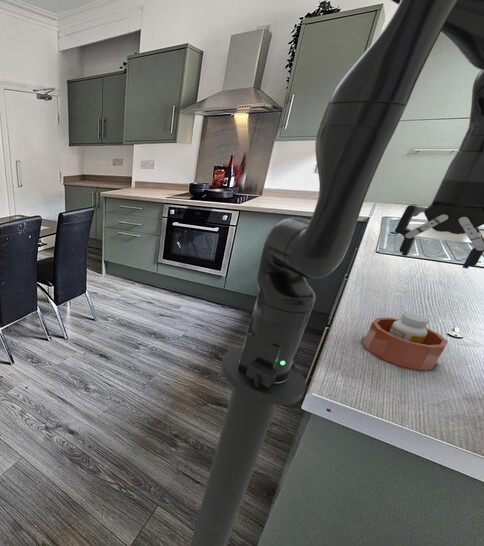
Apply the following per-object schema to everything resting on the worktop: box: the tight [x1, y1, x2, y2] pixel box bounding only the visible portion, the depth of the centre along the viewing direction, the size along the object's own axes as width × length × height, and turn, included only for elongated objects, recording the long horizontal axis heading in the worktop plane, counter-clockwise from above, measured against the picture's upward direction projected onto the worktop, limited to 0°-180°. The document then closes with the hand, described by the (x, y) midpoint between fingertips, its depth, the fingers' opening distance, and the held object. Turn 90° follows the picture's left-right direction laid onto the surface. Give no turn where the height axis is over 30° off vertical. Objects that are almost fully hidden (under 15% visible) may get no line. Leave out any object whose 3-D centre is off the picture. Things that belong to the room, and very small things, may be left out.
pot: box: [362, 317, 449, 371], centre depth 70 cm, size 12×12×6 cm
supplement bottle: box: [389, 312, 429, 344], centre depth 70 cm, size 5×5×10 cm
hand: (433, 260), depth 63 cm, fingers open, 8 cm apart
